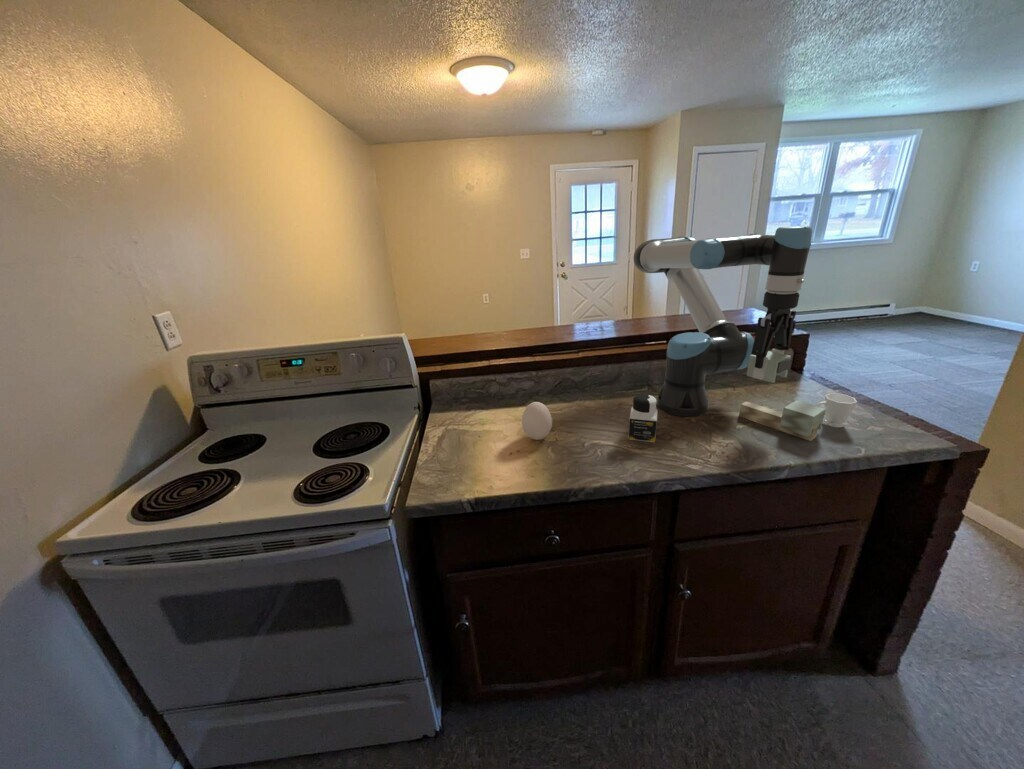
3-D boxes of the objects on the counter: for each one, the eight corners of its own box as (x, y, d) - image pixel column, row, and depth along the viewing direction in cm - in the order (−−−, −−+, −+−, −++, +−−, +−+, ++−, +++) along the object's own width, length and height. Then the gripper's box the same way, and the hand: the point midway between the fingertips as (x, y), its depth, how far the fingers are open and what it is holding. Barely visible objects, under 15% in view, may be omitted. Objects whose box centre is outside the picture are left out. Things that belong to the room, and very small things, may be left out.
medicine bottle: (628, 439, 112) (630, 401, 107) (630, 427, 118) (632, 390, 113) (655, 443, 109) (658, 403, 104) (655, 430, 115) (659, 393, 111)
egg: (518, 443, 113) (516, 407, 109) (528, 429, 121) (526, 395, 116) (547, 447, 110) (546, 411, 106) (555, 432, 118) (555, 397, 113)
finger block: (746, 375, 111) (749, 355, 109) (760, 370, 114) (764, 350, 112) (774, 383, 105) (778, 361, 103) (788, 377, 108) (792, 356, 106)
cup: (856, 429, 109) (864, 403, 106) (817, 430, 110) (825, 404, 106) (837, 417, 115) (845, 392, 112) (802, 418, 116) (808, 393, 113)
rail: (735, 418, 119) (739, 393, 116) (747, 411, 122) (752, 387, 119) (807, 443, 104) (814, 416, 101) (818, 435, 107) (826, 408, 104)
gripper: (776, 299, 93) (759, 388, 102) (818, 287, 102) (799, 370, 111) (744, 295, 99) (731, 379, 108) (787, 284, 108) (772, 363, 117)
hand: (766, 374), depth 110 cm, fingers closed on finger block, 7 cm apart
